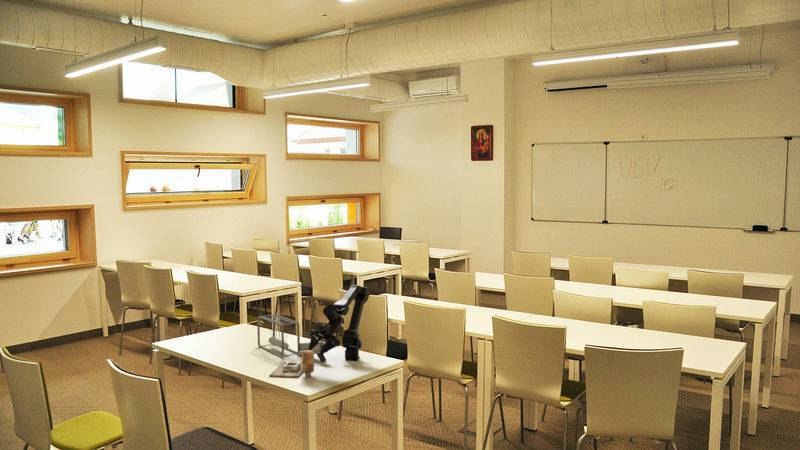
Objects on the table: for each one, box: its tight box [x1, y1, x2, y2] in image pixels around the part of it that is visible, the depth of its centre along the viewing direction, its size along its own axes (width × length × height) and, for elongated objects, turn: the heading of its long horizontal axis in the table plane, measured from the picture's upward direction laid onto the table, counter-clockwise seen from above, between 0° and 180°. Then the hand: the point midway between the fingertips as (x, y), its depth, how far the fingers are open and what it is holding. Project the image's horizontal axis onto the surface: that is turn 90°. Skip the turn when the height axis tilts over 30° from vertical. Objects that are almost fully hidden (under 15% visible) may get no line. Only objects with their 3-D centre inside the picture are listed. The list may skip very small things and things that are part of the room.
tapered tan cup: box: [301, 350, 315, 378], centre depth 285 cm, size 6×6×12 cm
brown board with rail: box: [268, 361, 304, 379], centre depth 295 cm, size 14×22×3 cm, turn 172°
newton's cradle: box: [256, 313, 301, 358], centre depth 330 cm, size 30×10×18 cm, turn 38°
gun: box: [297, 340, 329, 363], centre depth 316 cm, size 2×25×10 cm, turn 44°
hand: (314, 352), depth 287 cm, fingers open, 9 cm apart
